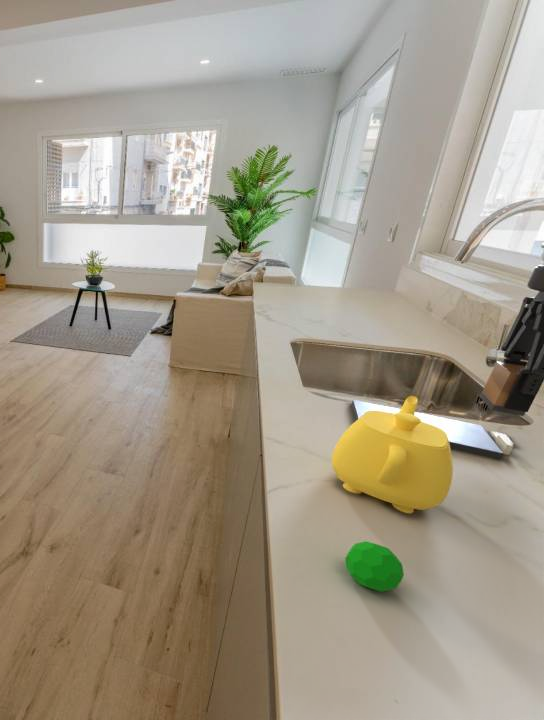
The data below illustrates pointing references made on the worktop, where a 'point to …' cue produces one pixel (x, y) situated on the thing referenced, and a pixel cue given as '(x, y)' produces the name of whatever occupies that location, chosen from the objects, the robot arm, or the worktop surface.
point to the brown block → (501, 387)
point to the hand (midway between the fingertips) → (507, 401)
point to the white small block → (503, 444)
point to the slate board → (445, 430)
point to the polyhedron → (374, 566)
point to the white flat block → (495, 434)
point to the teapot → (395, 459)
